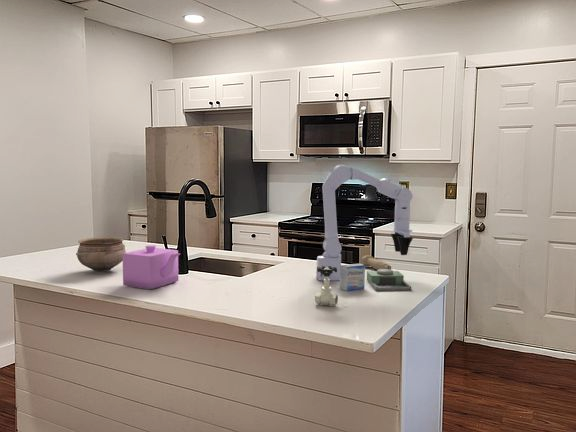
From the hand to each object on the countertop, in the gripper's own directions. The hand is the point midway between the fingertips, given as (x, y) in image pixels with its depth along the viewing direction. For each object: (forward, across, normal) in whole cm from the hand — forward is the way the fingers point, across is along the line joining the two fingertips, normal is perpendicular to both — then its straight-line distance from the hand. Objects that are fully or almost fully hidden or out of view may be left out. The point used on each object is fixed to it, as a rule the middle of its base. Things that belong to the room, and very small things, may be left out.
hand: (400, 253), depth 199 cm
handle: (+8, +9, +2) cm, 12 cm away
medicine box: (+10, -16, +22) cm, 29 cm away
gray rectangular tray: (+10, -16, +8) cm, 20 cm away
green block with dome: (+10, -7, +8) cm, 15 cm away
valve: (+10, -37, +34) cm, 51 cm away
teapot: (+10, -5, +94) cm, 95 cm away
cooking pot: (+10, +19, +120) cm, 122 cm away
